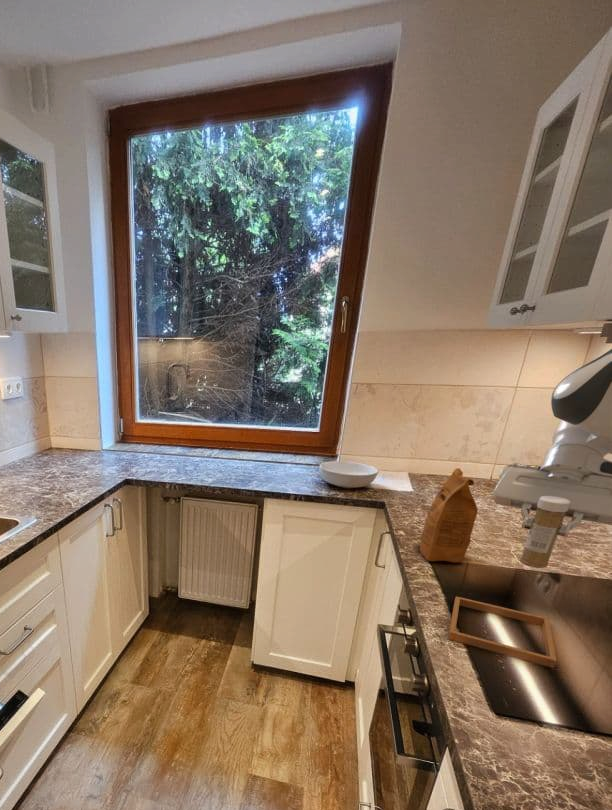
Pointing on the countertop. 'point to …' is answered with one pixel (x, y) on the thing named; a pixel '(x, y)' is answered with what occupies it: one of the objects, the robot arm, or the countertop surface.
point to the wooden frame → (501, 648)
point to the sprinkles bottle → (544, 531)
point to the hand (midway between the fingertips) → (544, 531)
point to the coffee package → (450, 521)
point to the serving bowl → (347, 474)
